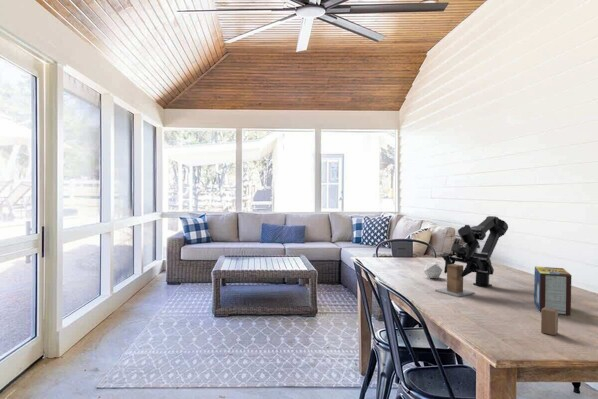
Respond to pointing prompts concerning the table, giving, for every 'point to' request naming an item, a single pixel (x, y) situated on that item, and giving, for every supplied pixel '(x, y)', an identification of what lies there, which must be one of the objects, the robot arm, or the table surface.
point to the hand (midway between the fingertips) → (453, 274)
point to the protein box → (552, 289)
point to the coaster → (455, 293)
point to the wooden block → (549, 321)
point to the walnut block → (454, 278)
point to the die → (432, 270)
